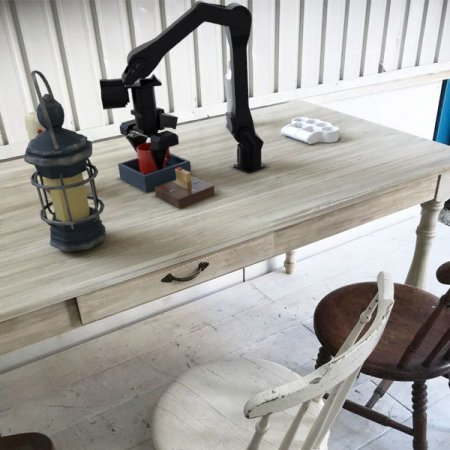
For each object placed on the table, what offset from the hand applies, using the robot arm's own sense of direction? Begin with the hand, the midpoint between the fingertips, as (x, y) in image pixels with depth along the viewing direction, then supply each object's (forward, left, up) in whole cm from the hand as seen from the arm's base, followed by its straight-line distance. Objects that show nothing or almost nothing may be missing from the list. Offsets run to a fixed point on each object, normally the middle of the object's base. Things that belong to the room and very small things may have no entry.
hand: (152, 165), depth 138 cm
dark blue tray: (0, -1, -4) cm, 4 cm away
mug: (0, -1, -1) cm, 2 cm away
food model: (+12, +23, -4) cm, 26 cm away
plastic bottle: (+17, -45, -4) cm, 48 cm away
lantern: (-18, +32, -4) cm, 37 cm away
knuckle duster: (-8, -54, -4) cm, 55 cm away
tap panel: (-15, +1, -4) cm, 15 cm away
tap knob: (-15, +1, -1) cm, 15 cm away
